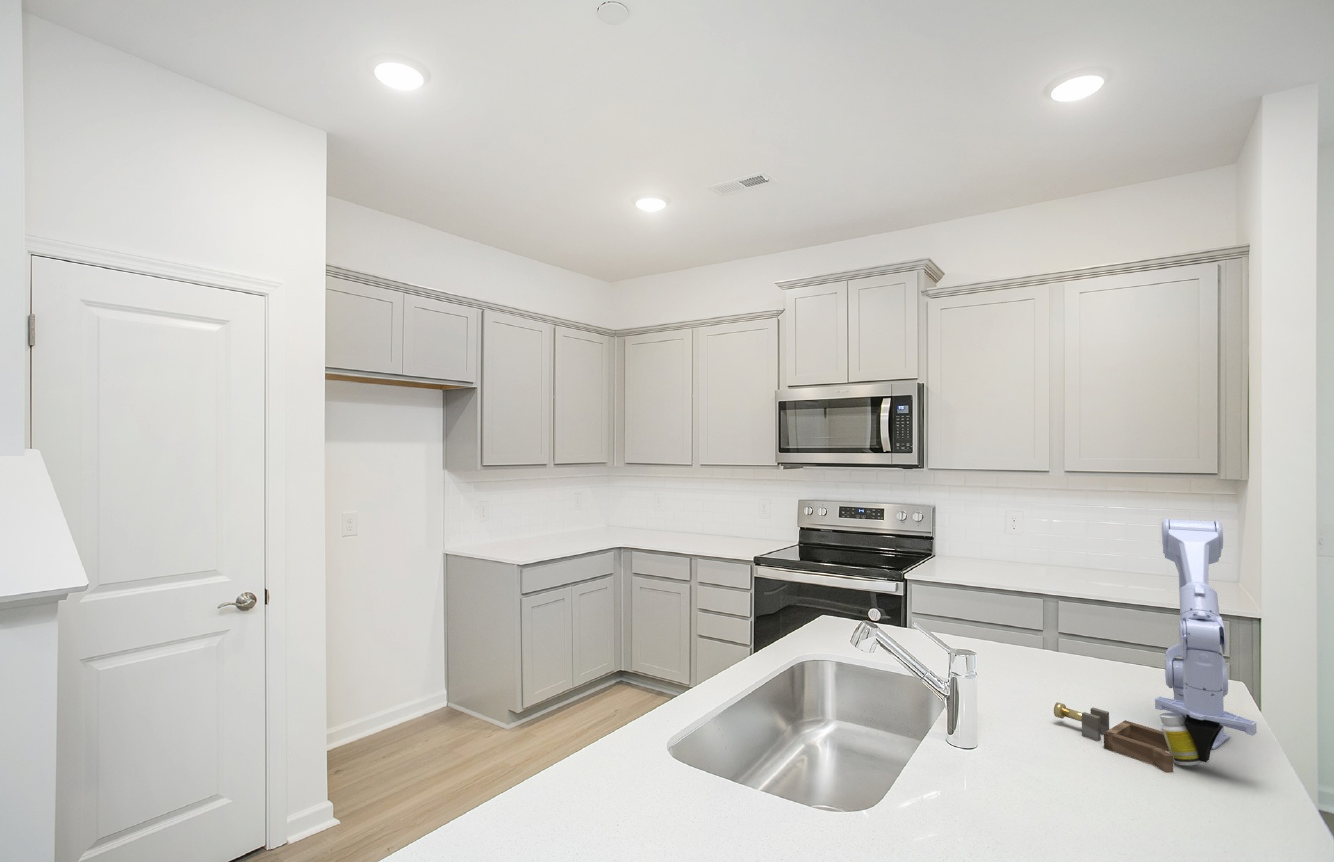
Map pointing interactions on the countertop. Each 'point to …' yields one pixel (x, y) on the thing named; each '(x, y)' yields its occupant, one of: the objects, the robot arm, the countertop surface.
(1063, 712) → the lock pin
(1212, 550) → the robot arm
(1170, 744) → the supplement bottle
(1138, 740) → the dock
